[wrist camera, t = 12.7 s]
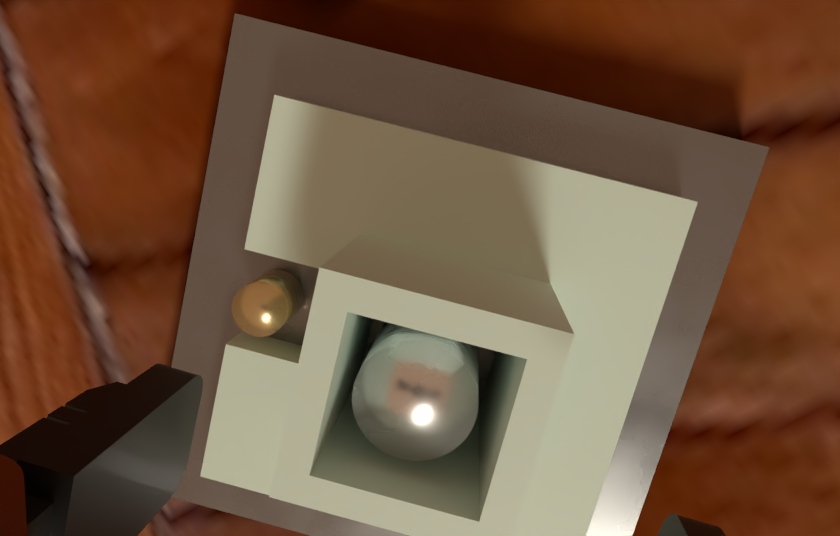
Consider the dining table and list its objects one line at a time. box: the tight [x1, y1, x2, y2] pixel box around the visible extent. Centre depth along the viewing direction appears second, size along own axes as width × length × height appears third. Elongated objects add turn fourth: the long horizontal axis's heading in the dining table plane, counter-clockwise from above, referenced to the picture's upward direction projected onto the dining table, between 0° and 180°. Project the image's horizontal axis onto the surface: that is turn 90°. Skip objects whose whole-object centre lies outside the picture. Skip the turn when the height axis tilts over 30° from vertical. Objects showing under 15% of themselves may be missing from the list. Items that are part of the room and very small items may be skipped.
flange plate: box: [200, 95, 698, 536], centre depth 18 cm, size 12×12×6 cm
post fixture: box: [171, 13, 769, 536], centre depth 20 cm, size 16×16×8 cm
